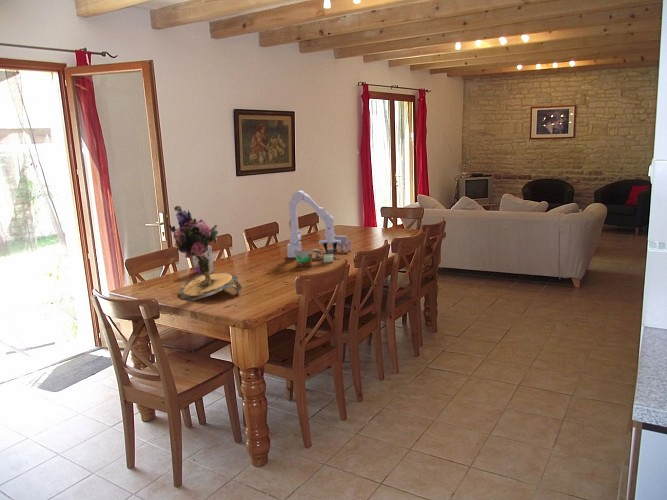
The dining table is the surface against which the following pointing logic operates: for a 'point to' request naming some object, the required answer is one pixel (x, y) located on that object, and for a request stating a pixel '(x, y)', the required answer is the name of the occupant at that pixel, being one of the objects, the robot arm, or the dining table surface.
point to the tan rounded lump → (318, 254)
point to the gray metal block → (330, 251)
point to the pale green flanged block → (328, 258)
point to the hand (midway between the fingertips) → (330, 254)
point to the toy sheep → (342, 242)
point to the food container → (303, 258)
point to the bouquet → (199, 257)
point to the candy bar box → (207, 255)
